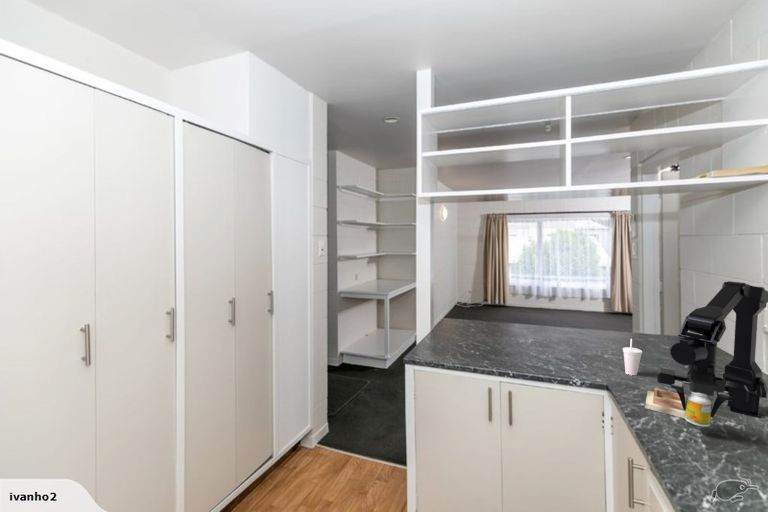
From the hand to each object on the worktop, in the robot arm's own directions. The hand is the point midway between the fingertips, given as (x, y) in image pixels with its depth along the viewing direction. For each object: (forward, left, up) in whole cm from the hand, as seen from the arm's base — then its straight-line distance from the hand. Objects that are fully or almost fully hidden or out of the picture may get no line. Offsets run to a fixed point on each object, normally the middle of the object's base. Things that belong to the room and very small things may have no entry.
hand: (697, 413), depth 100 cm
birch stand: (+6, -13, -5) cm, 15 cm away
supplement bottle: (0, 0, -3) cm, 3 cm away
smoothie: (+18, -37, -6) cm, 42 cm away
